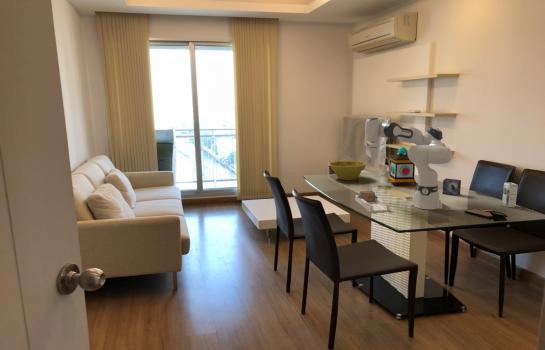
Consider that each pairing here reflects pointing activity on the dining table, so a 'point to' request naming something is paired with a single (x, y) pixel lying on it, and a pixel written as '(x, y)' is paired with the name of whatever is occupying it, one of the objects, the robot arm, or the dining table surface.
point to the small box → (451, 187)
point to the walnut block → (368, 196)
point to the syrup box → (509, 194)
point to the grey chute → (373, 204)
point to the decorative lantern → (401, 168)
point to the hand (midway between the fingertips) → (370, 163)
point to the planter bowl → (347, 169)
